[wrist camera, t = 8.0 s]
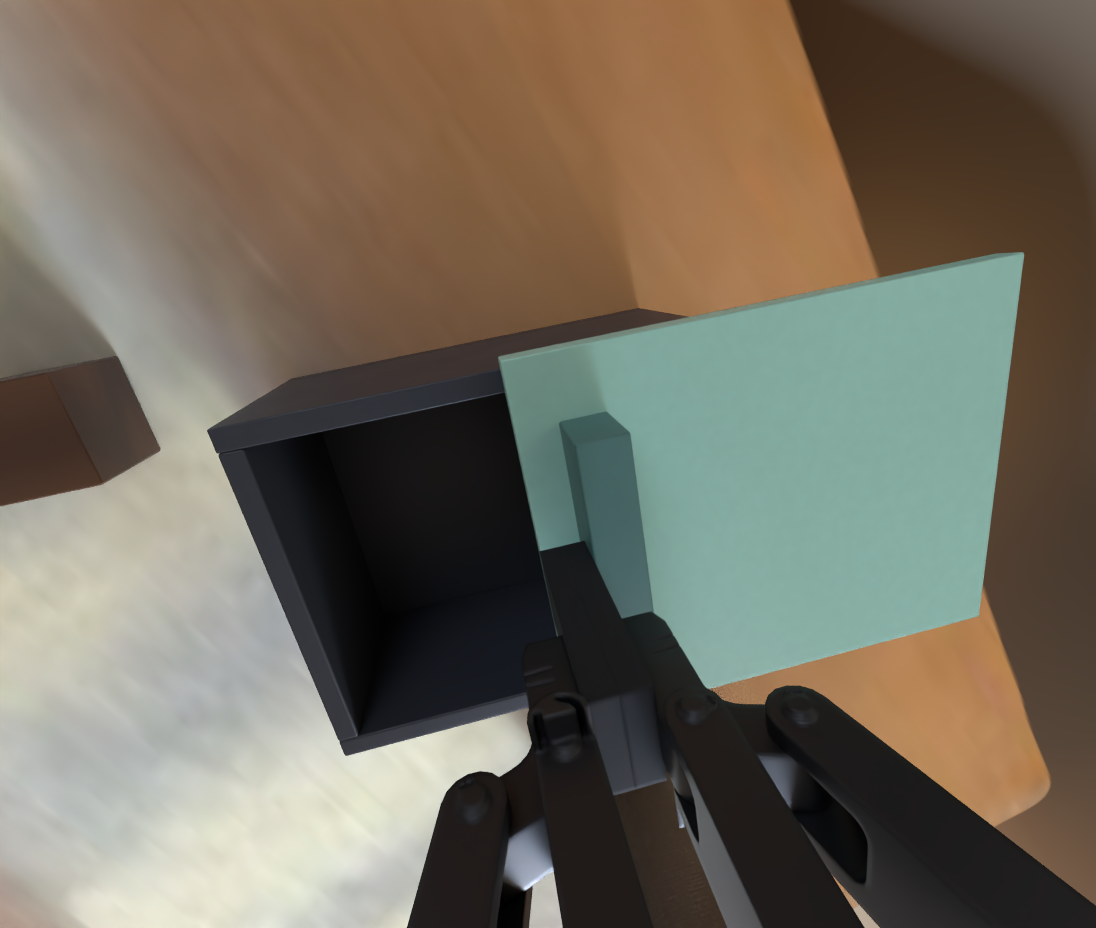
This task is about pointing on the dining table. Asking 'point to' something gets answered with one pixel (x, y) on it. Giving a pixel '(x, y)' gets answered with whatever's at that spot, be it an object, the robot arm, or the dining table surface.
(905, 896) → the robot arm
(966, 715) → the dining table surface
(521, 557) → the bin
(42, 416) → the block
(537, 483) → the lid
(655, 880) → the pillar candle
